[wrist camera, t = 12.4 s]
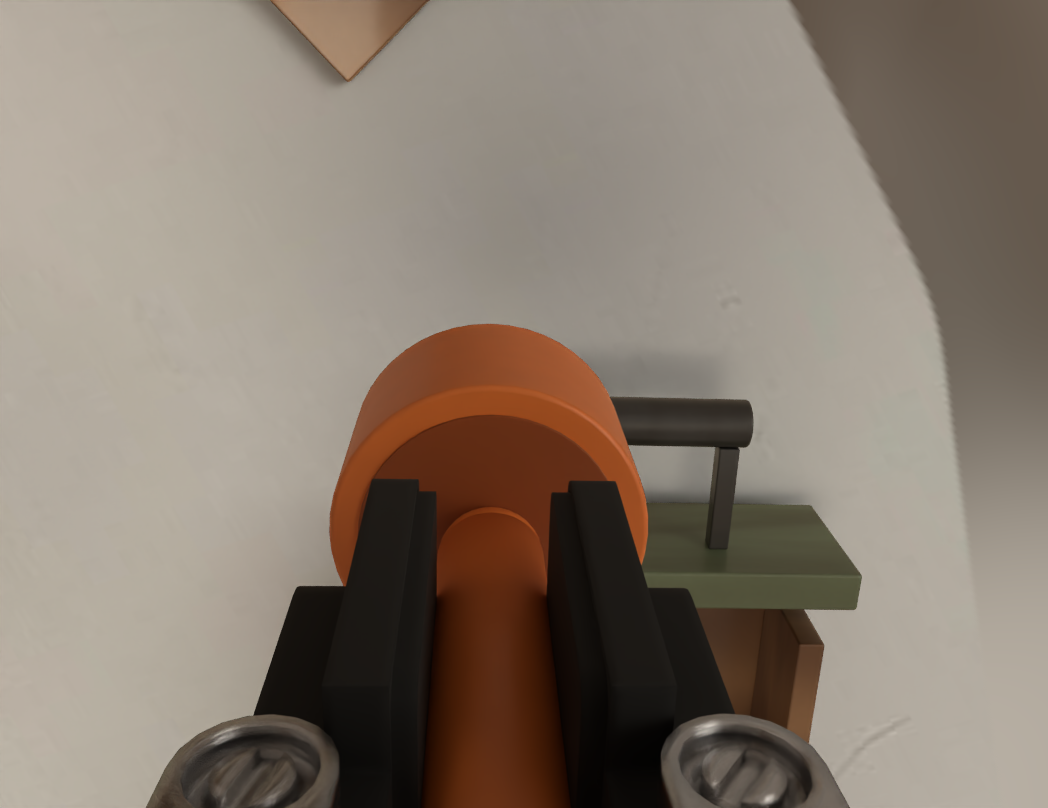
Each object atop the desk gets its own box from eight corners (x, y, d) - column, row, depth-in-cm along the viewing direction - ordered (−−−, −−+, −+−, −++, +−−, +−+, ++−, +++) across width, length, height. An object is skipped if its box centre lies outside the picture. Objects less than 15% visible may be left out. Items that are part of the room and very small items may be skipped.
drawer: (428, 361, 31) (419, 415, 27) (831, 371, 32) (889, 425, 27) (425, 824, 37) (418, 931, 33) (763, 823, 38) (801, 928, 34)
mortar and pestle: (349, 319, 16) (128, 818, 6) (628, 324, 16) (879, 814, 6) (358, 566, 17) (193, 1295, 7) (612, 567, 17) (787, 1278, 7)
